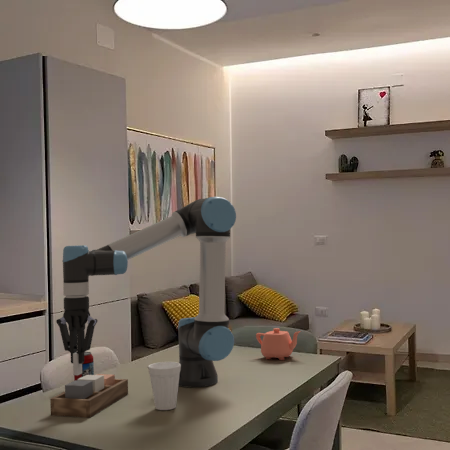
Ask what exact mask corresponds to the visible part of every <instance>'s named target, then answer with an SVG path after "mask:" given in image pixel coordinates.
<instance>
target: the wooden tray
mask: <svg viewBox="0 0 450 450" xmlns="http://www.w3.org/2000/svg"><path fill="white" fill-rule="evenodd" d="M128 395H129V379H128V378H115V385H113V386H106V385H104V388H103V389H102V390H100V391H98V392H93V394H92V395H91V396H89V397H87V398H85V399H71V398H65V391H63V392H61V393H58V394H57V395H55V396H53V397H51V398H50V399H49V400H50V401H49V402H50V416H54V417H67V418H70V417H71V418H85V419H86V418H88V419H91V418H92V417H94V416H95V415H97V414H99V413H100V412H102V411H103V410H105V409H107V408H109V407H110V406H112V405H113V404H115V403H116V402H118V401H120V400H122V399H123V398H125V397H126V396H128Z"/></svg>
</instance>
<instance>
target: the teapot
mask: <svg viewBox="0 0 450 450" xmlns="http://www.w3.org/2000/svg"><path fill="white" fill-rule="evenodd" d="M300 332H302V331H301V330H300V331H295V332H294V333H293V336H292V337H291V336H290V333H289V331H285V330H281V329H280V328H279V327H275V328H274V327H273V329H272V330H271V331H270V330H269V331H266V332H265V333H263V332H257V333H256V334H255V338H256V340H257V342H258V343H259V344H260V346H261V347H260V353H261V355H262V356H263V358H264V357H265V360H271V359H272V358H275V359H276V358H278V360H279V361H284V360H285V359H286V358H289V357H290V356H291V355H292V353H293V351H294V349H295V348H296V346H297V344H298V335H299V333H300ZM261 336H262V338H261Z"/></svg>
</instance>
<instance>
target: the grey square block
mask: <svg viewBox="0 0 450 450" xmlns="http://www.w3.org/2000/svg"><path fill="white" fill-rule="evenodd" d="M64 392H65V398H71V399H85V398H87V397H89V396H91V395H92V394H93V381H78V380H75V381H74V380H73V381H71V382H69V383H66V384H65V385H64Z"/></svg>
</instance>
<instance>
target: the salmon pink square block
mask: <svg viewBox="0 0 450 450" xmlns="http://www.w3.org/2000/svg"><path fill="white" fill-rule="evenodd" d="M96 375H104V385H106V386H113V385H115V379H116V375H115V374H111V373H109V374H106V373H104V374H103V373H102V374H101V373H97V374H96Z"/></svg>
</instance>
